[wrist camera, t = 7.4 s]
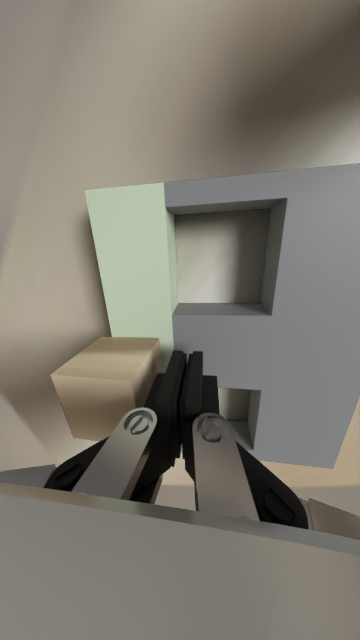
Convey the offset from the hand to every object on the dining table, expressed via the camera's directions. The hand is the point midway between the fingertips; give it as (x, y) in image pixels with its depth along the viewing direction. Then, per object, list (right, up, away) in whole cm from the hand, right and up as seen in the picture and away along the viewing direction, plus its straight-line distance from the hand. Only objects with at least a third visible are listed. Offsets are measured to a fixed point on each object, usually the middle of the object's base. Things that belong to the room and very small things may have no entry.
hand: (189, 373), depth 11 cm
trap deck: (+3, +2, +3) cm, 5 cm away
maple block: (-4, 0, +2) cm, 4 cm away
